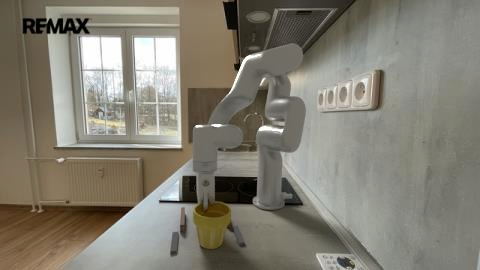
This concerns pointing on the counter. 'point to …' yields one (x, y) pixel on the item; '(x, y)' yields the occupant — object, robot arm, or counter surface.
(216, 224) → the plant pot
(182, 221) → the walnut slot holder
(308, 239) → the counter surface
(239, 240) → the rubber strips
